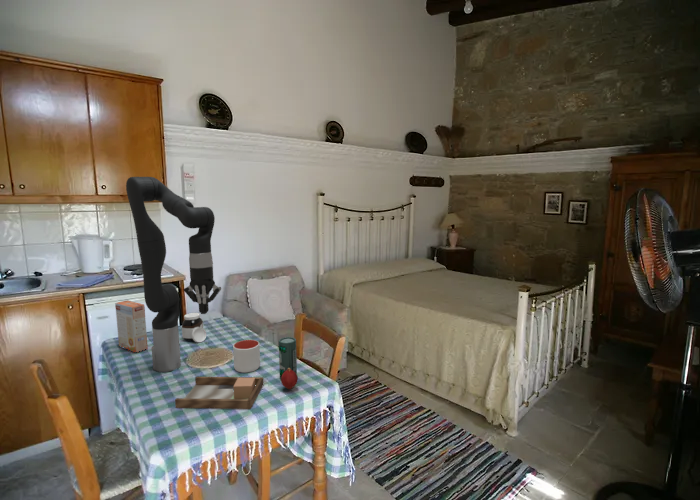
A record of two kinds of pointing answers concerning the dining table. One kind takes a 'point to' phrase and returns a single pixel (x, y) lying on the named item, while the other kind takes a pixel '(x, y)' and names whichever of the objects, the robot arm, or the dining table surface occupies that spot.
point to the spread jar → (193, 328)
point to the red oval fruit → (289, 379)
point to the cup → (246, 356)
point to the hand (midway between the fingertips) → (204, 313)
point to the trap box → (217, 394)
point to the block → (243, 388)
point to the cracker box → (131, 325)
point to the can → (287, 355)
